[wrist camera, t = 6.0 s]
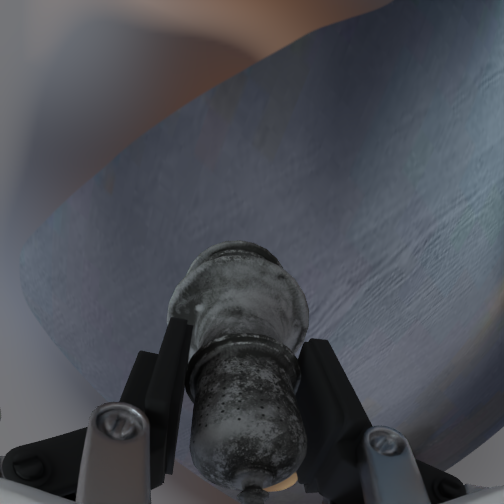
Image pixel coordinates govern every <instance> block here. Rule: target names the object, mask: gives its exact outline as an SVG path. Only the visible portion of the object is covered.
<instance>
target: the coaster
mask: <svg viewBox="0 0 504 504" xmlns="http://www.w3.org/2000/svg"><path fill="white" fill-rule="evenodd" d="M297 479H298V478H297V473H296V472H295V473H294V474H292V475H291V476H290V477H289V478H287V479H286V480H284V481H282V482H280V483H278V484H276V485H273V486H270V487H268V488H264V489H263V490H265V491H269V492H270V491H280V490H283V489H286V488H289V487H291V486H292V485H293V484H295V483H296V481H297Z"/></svg>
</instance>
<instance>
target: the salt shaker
mask: <svg viewBox="0 0 504 504" xmlns="http://www.w3.org/2000/svg"><path fill="white" fill-rule="evenodd" d="M171 317H175V318H181V319H186V320H188V321H187V324H189V325H193V332H192V338H191V345H190V352H189V359H188V364H187V370H186V377H185V388H186V392H187V394H188V396H189V397H190V399H191V401H192V402H193V403H194V408H193V417H192V427H191V438H190V452H191V457H192V460H193V464H194V466H195V467H196V468H197V469H198V471H199V472H200V473H201V474H202V475H203V476H204V477H205V478H206V479H208V480H209V481H211V482H212V483H214V484H216V485H219V486H221V487H225V488H229V489H233V490H241V491H242V492H240V493H239V494H238V495H237V499H238V501H240V502H242V503H243V504H264V501H266V500H267V499H268V498H269V493H268V492H267V491H265V490H263V489H264V488H268V487H270V486H273V485H276V484H278V483H280V482H282V481H284V480H286V479H287V478H289V477H290V476H291V475H292V474H294V473H295V472H296V471H297V469H298V468H299V466H300V465H301V463H302V462H303V460H304V458H305V456H306V451H307V436H306V432H305V429H304V425H303V422H302V418H301V415H300V411H299V407H298V404H297V400H296V397H295V394H296V392H297V389H298V386H299V384H300V380H301V369H300V366H299V363H298V359H297V358H296V356H295V354H296V352H297V351H298V349H299V348H300V346H301V345H302V343H303V342H304V339H305V336H306V333H307V330H308V326H309V309H308V305H307V301H306V298H305V294H304V293H303V291H302V289H301V288H300V286H299V285H298V283H297V282H296V280H295V279H294V278H293V277H292V276H291V275H290V274H289V273H287V272H286V271H285V270H284V269H283V267H282V266H281V264H280V263H279V261H278V260H277V258H276V257H275V256H273V255H272V254H271V253H270V252H269V251H268V250H267V249H265V248H263V247H261V246H259V245H257V244H254V243H250V242H245V241H240V240H239V241H225V242H222V243H219V244H216V245H213V246H211V247H210V248H208V249H207V250H205V251H204V252H202V253H201V254H200V255H199V256H198V257H197V258H196V259H195V260H194V261H193V263H192V264H191V266H190V268H189V270H188V272H187V275H186V276H185V277H184V278H183V280H182V281H181V282H180V283H179V284H178V285H177V286H176V289H175V291H174V293H173V295H172V297H171V300H170V302H169V306H168V314H167V324H169V321H170V318H171Z"/></svg>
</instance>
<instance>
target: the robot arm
mask: <svg viewBox="0 0 504 504" xmlns="http://www.w3.org/2000/svg"><path fill="white" fill-rule="evenodd" d="M187 321H188V320H186V319H181V318H175V317H171V318H170V321H169V324H168V327H167V330H166V333H165V336H164V339H163V342H162V345H161V348H160V351H159V354H155V353H150V352H145V351H140V352H139V353H138V356H137V358H136V361H135V363H134V366H133V368H132V371H131V373H130V376H129V378H128V381H127V383H126V386H125V388H124V391H123V393H122V396H121V399H120V401H119V402H109V403H104V404H103V405H100V406H98V407H97V408H96V409H95V410H94V411H93V412H92V414H91V416H90V419H89V423H88V427H86V428H83V429H79V430H76V431H73V432H70V433H66V434H63V435H60V436H56V437H52V438H49V439H45V440H42V441H38V442H34V443H30V444H26V445H22V446H19V447H16V448H14V449H12V450H11V451H9V452H8V453H7V454H6V456H0V504H151V490H152V489H154V488H156V487H158V486H160V485H162V483H164V478H165V474H171V475H172V473H173V466H174V458H175V451H176V443H177V436H178V429H179V422H180V415H181V408H182V402H183V395H184V388H185V377H186V370H187V364H188V359H189V352H190V345H191V338H192V332H193V325H189V324H187ZM298 363H299V366H300V369H301V380H300V384H299V386H298V389H297V392H296V394H295V397H296V400H297V404H298V407H299V411H300V415H301V418H302V422H303V425H304V429H305V432H306V436H307V451H306V456H305V458H304V460H303V462H302V463H301V465H300V466H299V468H298V469H297V471H296V473H297V478H298V482H299V483H300V484H304V487H305V492H306V493H314V492H319V494H321V495H322V496H323V500H322V504H504V485H503V486H496V487H491V488H489V487H482V486H476V485H471V484H465V485H463V483H462V482H461V481H460V480H459V479H458V478H456V477H454V476H453V475H450V474H448V473H446V472H443V471H441V470H439V469H437V468H434V467H432V466H430V465H428V464H426V463H423V462H421V461H419V460H417V459H415V458H414V456H413V453H412V450H411V448H410V445H409V443H408V441H407V439H406V437H404V436H403V435H402V434H401V433H400V432H399V431H397V430H395V429H393V428H390V427H387V426H374V427H373V426H372V424H371V422H370V420H369V419H368V417H367V415H366V413H365V411H364V409H363V407H362V405H361V403H360V401H359V399H358V397H357V395H356V393H355V391H354V389H353V387H352V385H351V383H350V382H349V380H348V378H347V376H346V374H345V372H344V370H343V368H342V366H341V364H340V362H339V361H338V359H337V357H336V355H335V353H334V351H333V349H332V347H331V345H330V343H329V342H328V340H322V339H313V338H311V339H310V340H309V342H304V344H303V346H302V349H301V352H300V355H299V358H298Z"/></svg>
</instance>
